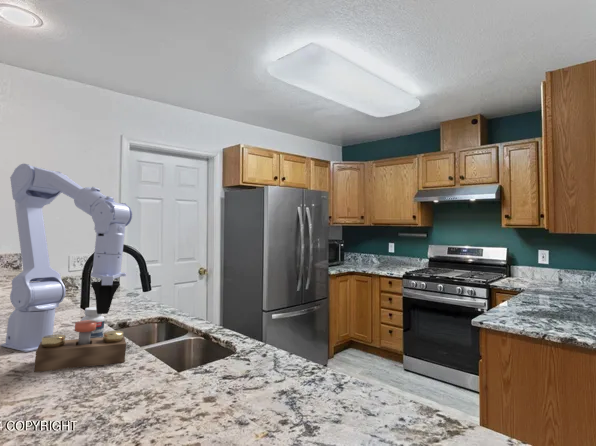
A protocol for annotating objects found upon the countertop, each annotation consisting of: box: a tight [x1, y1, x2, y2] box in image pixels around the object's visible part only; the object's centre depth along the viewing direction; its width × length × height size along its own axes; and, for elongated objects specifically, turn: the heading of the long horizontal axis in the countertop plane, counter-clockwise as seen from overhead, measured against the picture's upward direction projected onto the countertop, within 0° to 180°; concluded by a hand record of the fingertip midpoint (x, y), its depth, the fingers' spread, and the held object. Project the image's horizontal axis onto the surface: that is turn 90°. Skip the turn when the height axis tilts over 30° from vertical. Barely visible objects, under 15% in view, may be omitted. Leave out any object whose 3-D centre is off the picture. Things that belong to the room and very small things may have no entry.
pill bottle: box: [80, 306, 106, 338], centre depth 87 cm, size 5×5×9 cm
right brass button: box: [103, 330, 124, 343], centre depth 77 cm, size 4×4×5 cm
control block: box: [33, 335, 127, 373], centre depth 74 cm, size 16×7×4 cm, turn 121°
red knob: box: [74, 320, 97, 345], centre depth 75 cm, size 4×4×5 cm
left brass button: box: [41, 334, 66, 348], centre depth 72 cm, size 4×4×5 cm
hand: (102, 313), depth 78 cm, fingers closed
